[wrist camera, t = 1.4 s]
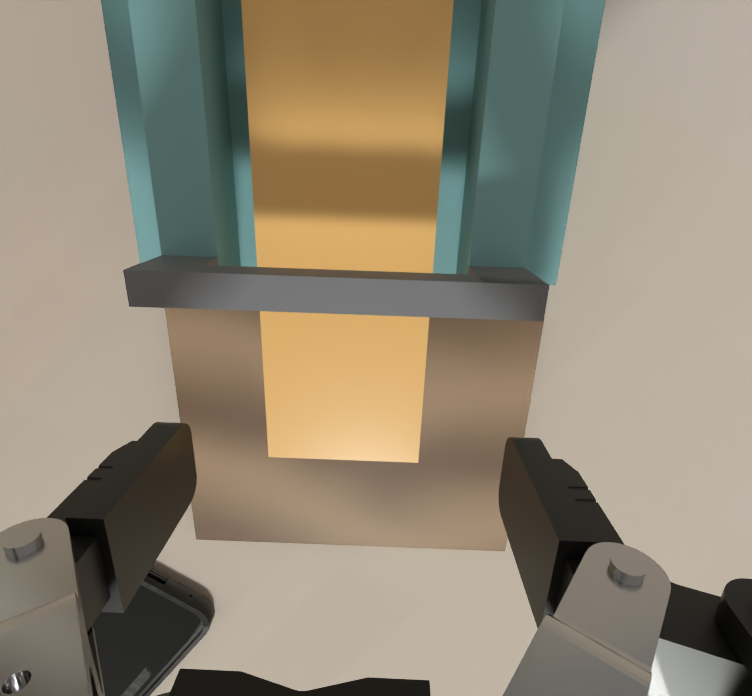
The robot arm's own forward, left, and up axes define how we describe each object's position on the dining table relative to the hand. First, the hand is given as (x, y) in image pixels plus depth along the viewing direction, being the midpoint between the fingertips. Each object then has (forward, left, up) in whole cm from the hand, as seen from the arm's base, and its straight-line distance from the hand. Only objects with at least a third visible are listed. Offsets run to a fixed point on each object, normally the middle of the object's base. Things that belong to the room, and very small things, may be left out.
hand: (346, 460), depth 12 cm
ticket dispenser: (-9, 0, -7) cm, 12 cm away
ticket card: (-5, 0, -3) cm, 6 cm away
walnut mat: (+3, 0, -7) cm, 8 cm away
